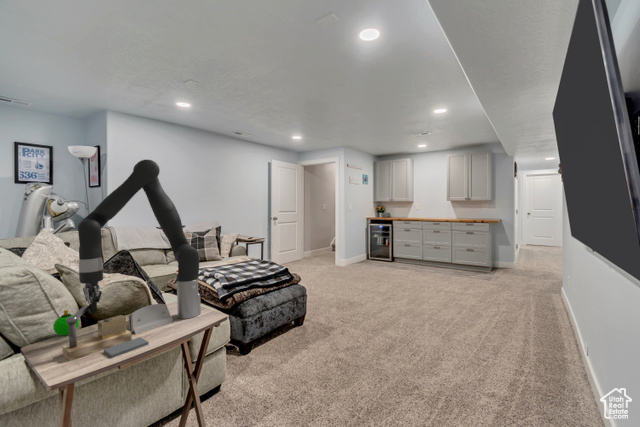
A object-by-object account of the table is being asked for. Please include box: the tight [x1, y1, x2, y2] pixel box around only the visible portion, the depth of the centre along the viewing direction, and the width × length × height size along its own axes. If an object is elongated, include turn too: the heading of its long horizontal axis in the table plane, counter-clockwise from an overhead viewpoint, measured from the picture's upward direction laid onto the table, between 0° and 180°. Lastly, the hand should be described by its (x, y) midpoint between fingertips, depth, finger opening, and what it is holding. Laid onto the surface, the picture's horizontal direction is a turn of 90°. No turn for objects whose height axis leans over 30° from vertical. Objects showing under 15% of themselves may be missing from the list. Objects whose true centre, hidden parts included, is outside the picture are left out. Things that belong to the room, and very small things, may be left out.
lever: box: [66, 305, 89, 324], centre depth 110 cm, size 16×3×2 cm, turn 22°
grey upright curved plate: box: [127, 303, 174, 336], centre depth 129 cm, size 17×5×10 cm, turn 148°
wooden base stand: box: [62, 322, 133, 362], centre depth 110 cm, size 19×8×12 cm, turn 144°
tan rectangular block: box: [97, 314, 127, 340], centre depth 114 cm, size 8×4×6 cm, turn 144°
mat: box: [103, 336, 149, 359], centre depth 109 cm, size 12×7×1 cm, turn 144°
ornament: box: [52, 309, 80, 336], centre depth 121 cm, size 8×8×10 cm
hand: (93, 312), depth 118 cm, fingers closed
